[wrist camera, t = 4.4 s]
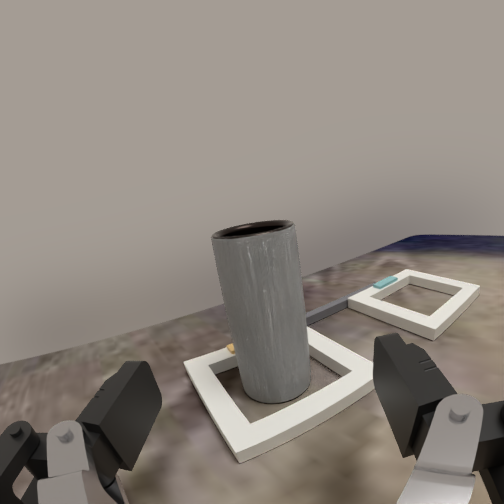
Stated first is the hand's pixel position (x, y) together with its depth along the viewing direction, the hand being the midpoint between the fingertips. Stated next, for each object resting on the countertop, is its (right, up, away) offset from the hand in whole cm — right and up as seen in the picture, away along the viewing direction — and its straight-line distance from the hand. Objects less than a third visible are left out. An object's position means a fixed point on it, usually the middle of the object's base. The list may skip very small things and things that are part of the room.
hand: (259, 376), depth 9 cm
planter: (+1, -5, +9) cm, 10 cm away
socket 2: (+16, -1, +15) cm, 22 cm away
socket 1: (+1, -4, +9) cm, 10 cm away
